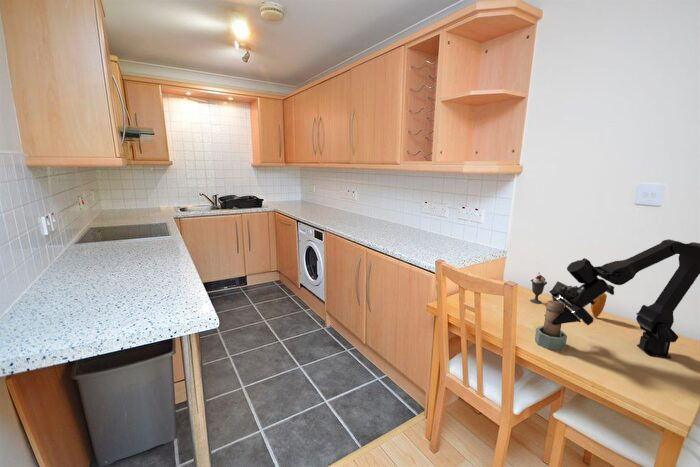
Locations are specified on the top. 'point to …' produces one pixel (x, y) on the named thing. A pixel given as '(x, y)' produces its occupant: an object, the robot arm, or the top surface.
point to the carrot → (598, 305)
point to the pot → (550, 340)
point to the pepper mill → (552, 318)
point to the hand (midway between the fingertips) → (548, 320)
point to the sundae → (538, 287)
